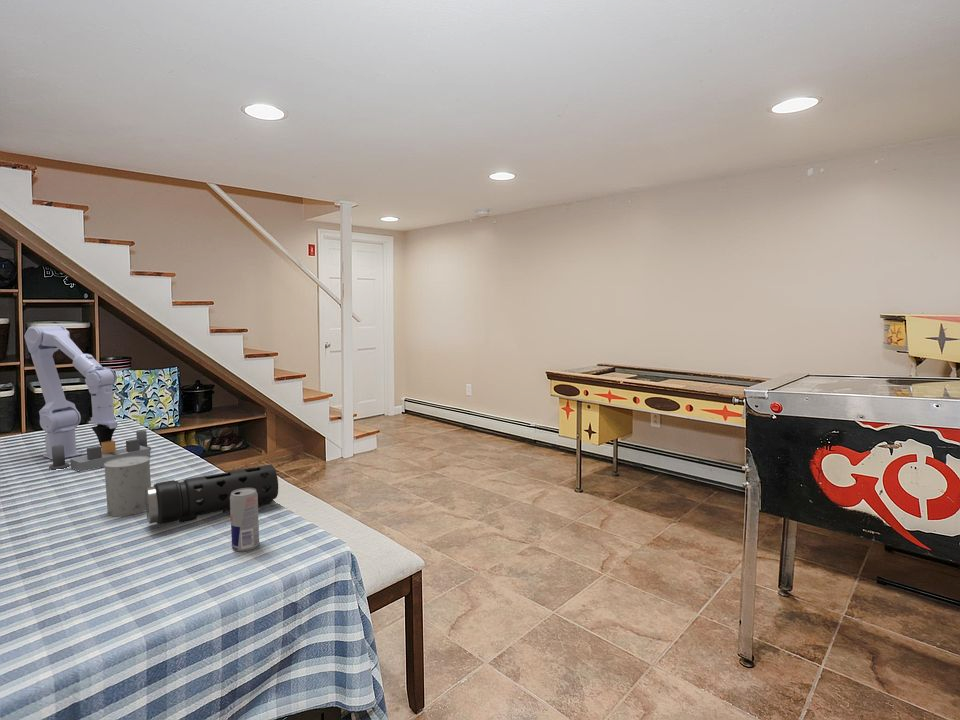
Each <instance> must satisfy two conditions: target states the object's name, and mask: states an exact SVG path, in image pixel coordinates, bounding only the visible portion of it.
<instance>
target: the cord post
mask: <svg viewBox="0 0 960 720" xmlns="http://www.w3.org/2000/svg"><path fill="white" fill-rule="evenodd" d="M147 432H148V431H147V430H137V431H136V432H135V433H136V439H139V443H140V445H141V446H144V447H147V448H150V450H151V451H152V449H151V448H152V447H151V446H148V435H147Z"/></svg>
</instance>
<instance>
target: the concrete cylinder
mask: <svg viewBox="0 0 960 720" xmlns="http://www.w3.org/2000/svg"><path fill="white" fill-rule="evenodd" d="M150 460H151V457H147V456H128V457H122V458H117V459H113V460H110V461H107V462H105V463H104V467H103V468H104V479H105V493H106V495H105V496H106V507H107V508H106V509H107V510H106V513H107V515H108V516H112V517H126V516H133V515H136V514H140V513H143V512H146V505H145V489H146V488H148V487H152V483H151V482H152V480H151V479H152V478H151V466H150V465H151V464H150V463H151V462H150Z"/></svg>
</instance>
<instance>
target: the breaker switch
mask: <svg viewBox="0 0 960 720" xmlns="http://www.w3.org/2000/svg"><path fill="white" fill-rule="evenodd" d="M100 447H102V448H101V451H102V453H104V454H106V453H111V452H116V450H117V449H116V447H117V446H116V440H112V439H111V441H106V442H101V446H100Z"/></svg>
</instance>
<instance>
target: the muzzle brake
mask: <svg viewBox="0 0 960 720" xmlns="http://www.w3.org/2000/svg"><path fill="white" fill-rule="evenodd" d="M241 488H254V489H256V492H257V494H258V506H261V505H267V504H271V503H273V501H274V500H276V499H277V497H278V495H279V479H278V473H277V470H276V468H275V466H274V465H273V464H266V465H261V466H260V465H259V466H255V467H249V468H242V469H237V470H231V471H226V472H220V473H213V474H209V475H208V474H207V475H203V476H197V477H191V478H186V479H184V480H183V481H181V482H179V481H178V480H175V479H173V480H167V481H161V482H156V483H154V484H153V486H151V487H148V488H146V489H145V505H146V511H145V513H146V518H147V519H146V520H147V522H148V525H152V524H155V523H156V524H157V525H165V524H170V523H173V522H179V523H180V524H182V523H186V522H190V521H192V522H193V521H196V520H197V518H198V517H200V516H204V515H205V516H206V515H210V514H214V513H218V512H221V513H223V514H224V513H227V512H228V511H229V512H230V496H231V492H232V491H234V490H237V489H241ZM270 502H271V503H270Z"/></svg>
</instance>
